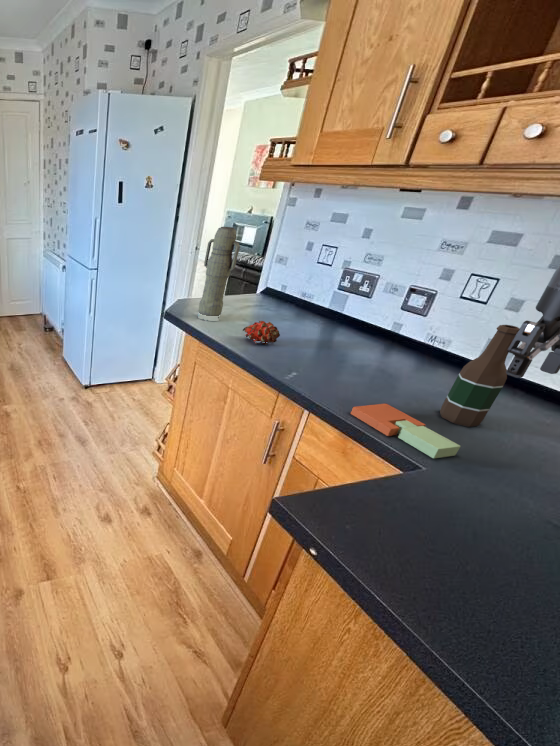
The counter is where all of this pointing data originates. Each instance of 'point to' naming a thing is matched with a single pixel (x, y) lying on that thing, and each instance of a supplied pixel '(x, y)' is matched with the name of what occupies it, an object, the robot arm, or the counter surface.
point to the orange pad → (383, 417)
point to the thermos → (218, 270)
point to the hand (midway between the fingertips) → (530, 374)
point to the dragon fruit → (262, 332)
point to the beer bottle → (479, 381)
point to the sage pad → (426, 440)
